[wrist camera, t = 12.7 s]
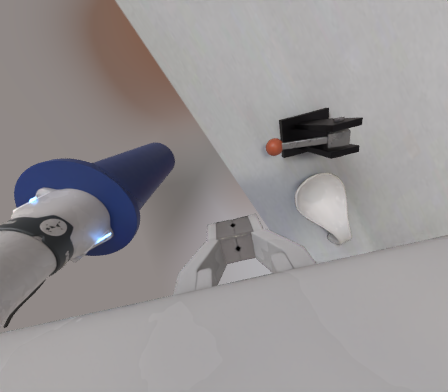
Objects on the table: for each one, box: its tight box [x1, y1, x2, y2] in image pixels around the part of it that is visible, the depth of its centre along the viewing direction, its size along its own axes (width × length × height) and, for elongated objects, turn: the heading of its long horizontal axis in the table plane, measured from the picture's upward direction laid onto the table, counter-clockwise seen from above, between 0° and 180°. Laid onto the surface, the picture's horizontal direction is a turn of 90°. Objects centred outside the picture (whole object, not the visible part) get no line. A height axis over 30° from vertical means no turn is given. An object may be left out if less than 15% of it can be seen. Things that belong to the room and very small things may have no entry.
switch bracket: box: [279, 108, 363, 159], centre depth 30 cm, size 10×8×13 cm
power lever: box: [266, 128, 350, 156], centre depth 29 cm, size 13×3×3 cm, turn 102°
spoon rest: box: [295, 173, 352, 245], centre depth 41 cm, size 24×12×7 cm, turn 37°
